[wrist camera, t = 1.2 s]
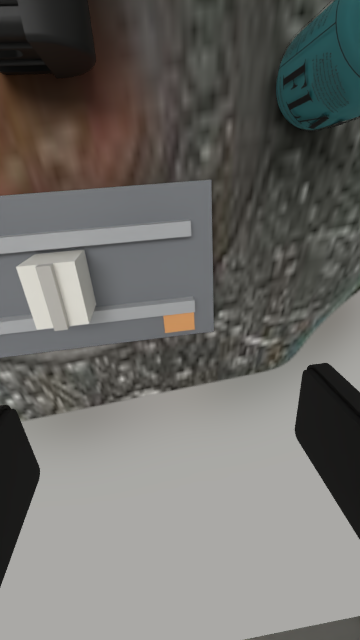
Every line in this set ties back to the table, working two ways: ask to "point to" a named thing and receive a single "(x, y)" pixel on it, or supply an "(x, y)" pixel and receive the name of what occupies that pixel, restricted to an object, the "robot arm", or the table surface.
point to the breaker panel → (113, 262)
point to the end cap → (46, 37)
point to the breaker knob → (58, 289)
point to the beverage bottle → (323, 70)
